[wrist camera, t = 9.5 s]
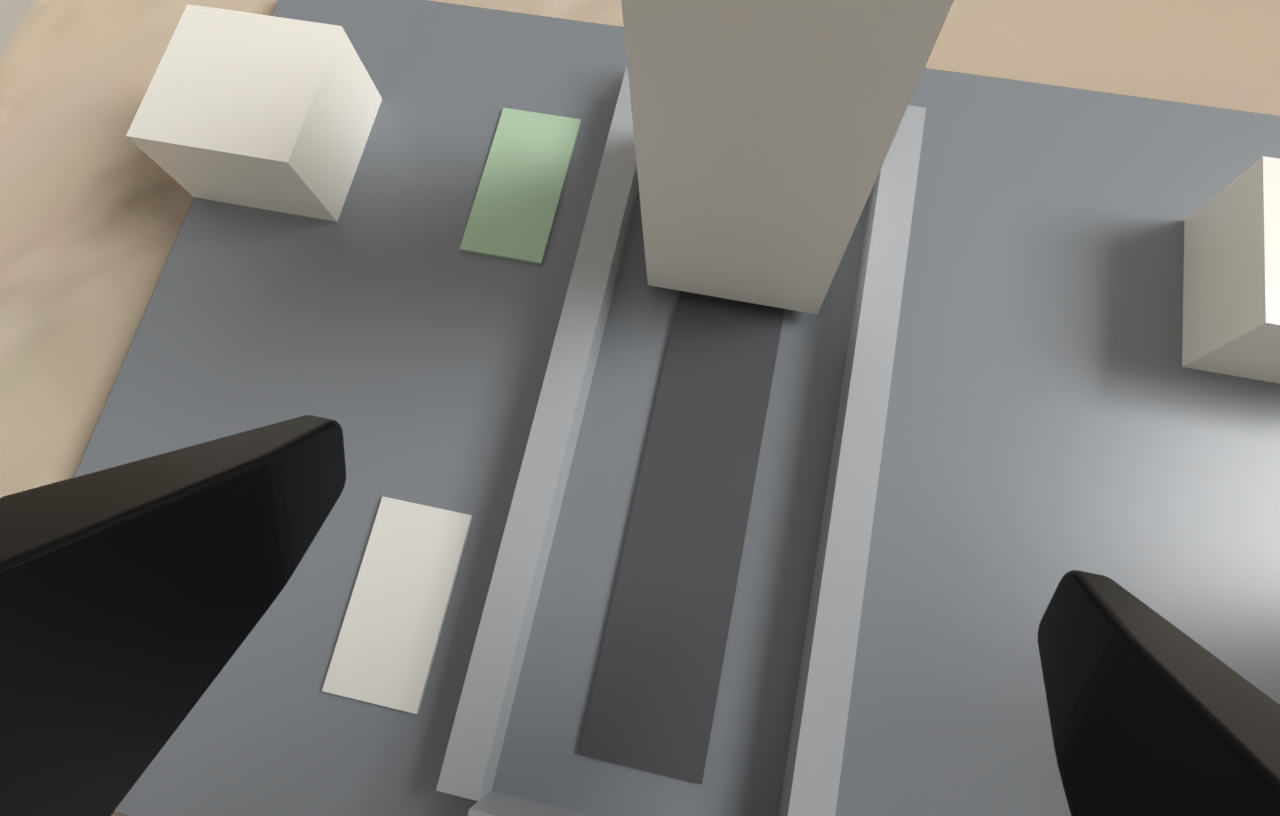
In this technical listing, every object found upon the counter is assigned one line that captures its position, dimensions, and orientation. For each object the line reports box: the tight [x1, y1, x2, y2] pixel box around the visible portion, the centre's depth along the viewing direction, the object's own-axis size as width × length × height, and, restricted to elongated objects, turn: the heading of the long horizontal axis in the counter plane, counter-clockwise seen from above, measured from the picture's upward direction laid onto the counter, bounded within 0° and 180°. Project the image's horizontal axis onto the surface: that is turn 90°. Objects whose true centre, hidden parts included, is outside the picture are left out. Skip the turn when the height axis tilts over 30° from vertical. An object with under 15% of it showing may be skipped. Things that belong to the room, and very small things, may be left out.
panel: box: [75, 0, 1280, 816], centre depth 15 cm, size 20×27×3 cm
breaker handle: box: [621, 0, 954, 315], centre depth 12 cm, size 4×4×11 cm
